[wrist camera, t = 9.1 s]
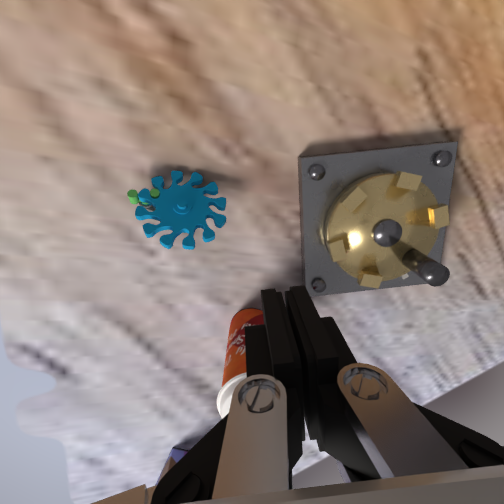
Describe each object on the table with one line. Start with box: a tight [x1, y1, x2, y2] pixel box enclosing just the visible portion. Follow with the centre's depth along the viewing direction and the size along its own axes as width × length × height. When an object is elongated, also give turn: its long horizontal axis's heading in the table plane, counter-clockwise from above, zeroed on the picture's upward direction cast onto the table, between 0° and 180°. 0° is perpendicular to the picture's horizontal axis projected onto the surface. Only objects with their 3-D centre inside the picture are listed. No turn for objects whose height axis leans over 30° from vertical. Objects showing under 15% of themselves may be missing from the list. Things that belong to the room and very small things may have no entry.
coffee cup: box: [217, 308, 264, 419], centre depth 36 cm, size 8×8×15 cm
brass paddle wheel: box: [325, 171, 450, 288], centre depth 33 cm, size 13×13×7 cm
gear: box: [127, 171, 226, 249], centre depth 35 cm, size 11×6×10 cm
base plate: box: [298, 142, 458, 297], centre depth 37 cm, size 18×18×3 cm
